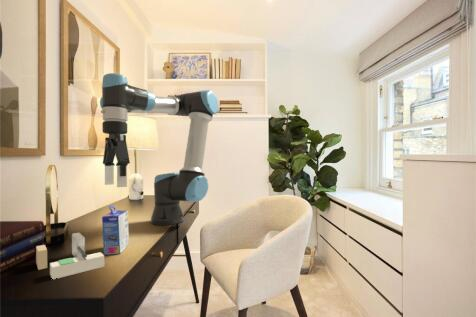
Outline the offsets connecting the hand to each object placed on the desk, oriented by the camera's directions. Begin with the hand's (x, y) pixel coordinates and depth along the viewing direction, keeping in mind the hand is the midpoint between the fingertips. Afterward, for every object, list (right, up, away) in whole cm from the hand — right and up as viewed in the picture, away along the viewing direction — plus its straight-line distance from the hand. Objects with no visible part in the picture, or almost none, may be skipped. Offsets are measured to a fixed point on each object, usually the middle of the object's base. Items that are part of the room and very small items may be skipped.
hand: (115, 185), depth 88 cm
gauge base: (-7, -21, -13) cm, 26 cm away
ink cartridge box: (0, -21, 0) cm, 21 cm away
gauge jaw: (-5, -21, -11) cm, 24 cm away
